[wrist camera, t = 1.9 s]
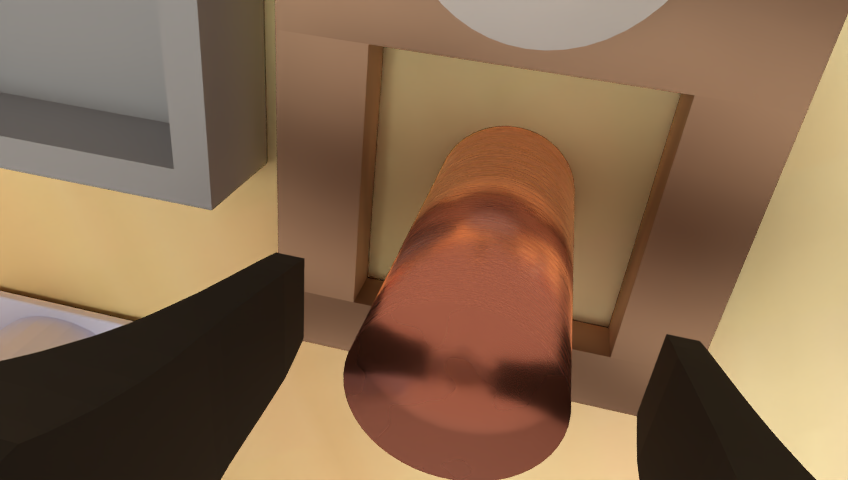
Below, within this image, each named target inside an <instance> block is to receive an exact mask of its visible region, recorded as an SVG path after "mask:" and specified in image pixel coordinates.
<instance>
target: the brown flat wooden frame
mask: <svg viewBox="0 0 848 480" xmlns="http://www.w3.org/2000/svg"><path fill="white" fill-rule="evenodd" d="M847 14H848V0H275V35H276V112H277V189H278V253H281V254H286V255H291V256H295V257H300V258H305V268H304V338H303V341H306V342H310V343H315V344H319V345H324V346H328V347H333V348H337V349H341V350H346V351H349V350H350V348H351V346H352V344H353V342H354V340H355V338H356V336H357V334H358V332H359V330H360V328H361V326H362V324H363V322H364V320H365V318H366V316H367V314H368V312H369V311H370V309H371V307H372V305H373V303H374V301H375V299H376V297H377V295H378V293H379V291H380V289H381V287H382V285H383V283H384V281H381V280H376V279H372V278H367V274H368V259H369V245H370V231H371V216H372V202H373V188H374V173H375V159H376V145H377V130H378V116H379V102H380V87H381V73H382V59H383V47H389V48H396V49H402V50H409V51H415V52H421V53H428V54H434V55H440V56H447V57H453V58H459V59H466V60H472V61H479V62H485V63H491V64H498V65H504V66H510V67H517V68H523V69H529V70H536V71H542V72H549V73H555V74H561V75H568V76H574V77H580V78H587V79H593V80H599V81H606V82H612V83H619V84H625V85H631V86H638V87H644V88H650V89H657V90H663V91H669V92H676V93H681V96H680V99H679V102H678V106H677V109H676V112H675V115H674V119H673V122H672V125H671V128H670V131H669V135H668V138H667V141H666V144H665V148H664V151H663V154H662V157H661V161H660V164H659V167H658V170H657V173H656V177H655V180H654V183H653V186H652V190H651V193H650V196H649V199H648V202H647V206H646V209H645V212H644V215H643V219H642V222H641V225H640V228H639V231H638V235H637V238H636V241H635V244H634V248H633V251H632V254H631V257H630V260H629V264H628V267H627V270H626V273H625V277H624V280H623V283H622V286H621V290H620V293H619V296H618V299H617V302H616V306H615V309H614V312H613V315H612V319H611V322H610V325H609V328H607V327H602V326H597V325H592V324H588V323H583V322H578V321H573V320H572V370H571V401H572V402H577V403H581V404H585V405H590V406H594V407H599V408H603V409H608V410H612V411H616V412H621V413H625V414H630V415H634V416H637V412H638V410H639V407H640V404H641V401H642V399H643V396H644V393H645V391H646V388H647V385H648V383H649V380H650V377H651V374H652V372H653V369H654V366H655V364H656V361H657V358H658V355H659V353H660V350H661V347H662V345H663V342H664V339H665V337H666V334H669V335H674V336H679V337H683V338H688V339H693V340H698V341H700V342H701V343H702V344H703V345H704V346H705V348H706V349H707V350H708V348H709V346H710V343H711V341H712V339H713V336H714V334H715V331H716V329H717V327H718V324H719V322H720V319H721V317H722V315H723V312H724V310H725V307H726V305H727V303H728V300H729V298H730V295H731V293H732V291H733V288H734V286H735V283H736V281H737V279H738V276H739V274H740V271H741V269H742V267H743V264H744V262H745V259H746V257H747V255H748V252H749V250H750V247H751V245H752V243H753V240H754V238H755V235H756V233H757V231H758V228H759V226H760V223H761V221H762V219H763V216H764V214H765V211H766V209H767V207H768V204H769V202H770V199H771V197H772V195H773V192H774V190H775V187H776V185H777V183H778V180H779V178H780V175H781V173H782V171H783V168H784V166H785V163H786V161H787V158H788V156H789V154H790V151H791V149H792V146H793V144H794V142H795V139H796V137H797V134H798V132H799V130H800V127H801V125H802V122H803V120H804V118H805V115H806V113H807V110H808V108H809V106H810V103H811V101H812V98H813V96H814V94H815V91H816V89H817V86H818V84H819V82H820V79H821V77H822V74H823V72H824V70H825V67H826V65H827V62H828V60H829V58H830V55H831V53H832V50H833V48H834V46H835V43H836V41H837V38H838V36H839V34H840V31H841V29H842V26H843V24H844V22H845V19H846V17H847Z"/></svg>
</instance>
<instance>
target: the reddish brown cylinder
mask: <svg viewBox="0 0 848 480" xmlns="http://www.w3.org/2000/svg"><path fill="white" fill-rule="evenodd" d="M574 192H575V187H574V179H573V175H572V172H571V169H570V167H569V165H568V163H567V161H566V159H565V158H564V156H563V155H562V153H561V152H560V151H559V150H558V149H557V148H556V147H555V146H554V145H553V144H552V143H551V142H550V141H548V140H547V139H545V138H544V137H542V136H540V135H538V134H537V133H534V132H532V131H529V130H526V129H522V128H518V127H510V126H498V127H491V128H487V129H483V130H480V131H478V132H475V133H473V134H471V135H469V136H468V137H466V138H464V139H463V140H462V141H461V142H459V143H458V144H457V145H456V146H455V147H454V148H453V149H452V151H451V152H450V153H449V155H448V156H447V158H446V160H445V162H444V164H443V166H442V168H441V170H440V172H439V174H438V176H437V178H436V180H435V182H434V184H433V186H432V188H431V190H430V192H429V194H428V196H427V198H426V199H425V201H424V203H423V205H422V207H421V209H420V211H419V213H418V215H417V217H416V219H415V221H414V223H413V225H412V227H411V229H410V231H409V233H408V235H407V237H406V239H405V241H404V243H403V245H402V247H401V249H400V251H399V253H398V255H397V257H396V259H395V261H394V263H393V265H392V267H391V269H390V271H389V273H388V275H387V277H386V279H385V281H384V283H383V285H382V287H381V289H380V291H379V293H378V295H377V297H376V299H375V301H374V303H373V305H372V307H371V309H370V311H369V312H368V314H367V316H366V318H365V320H364V322H363V324H362V326H361V328H360V330H359V332H358V334H357V336H356V338H355V340H354V342H353V344H352V346H351V348H350V350H349V352H348V355H347V358H346V361H345V367H344V389H345V394H346V398H347V401H348V404H349V407H350V409H351V411H352V413H353V415H354V417H355V419H356V420H357V422H358V423H359V425H360V426H361V427H362V429H363V430H364V431H365V432H366V433H367V435H368V436H369V437H370V438H371V439H372V440H373V441H374V442H375V443H376V444H377V445H378V446H379V447H381V448H382V449H383V450H385V451H386V452H387V453H388V454H390V455H391V456H393V457H394V458H396V459H398V460H399V461H401V462H403V463H405V464H407V465H409V466H411V467H413V468H415V469H417V470H420V471H422V472H425V473H428V474H431V475H434V476H438V477H442V478H447V479H452V480H499V479H504V478H509V477H512V476H515V475H518V474H521V473H523V472H525V471H528V470H530V469H532V468H533V467H535V466H537V465H538V464H540V463H541V462H543V461H544V460H545V459H546V458H547V457H549V456H550V455H551V454H552V453H553V451H554V450H555V449H556V448H557V447H558V446H559V444H560V442H561V441H562V439H563V438H564V436H565V433H566V431H567V428H568V425H569V420H570V415H571V370H572V311H573V251H574Z"/></svg>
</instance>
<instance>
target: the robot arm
mask: <svg viewBox="0 0 848 480" xmlns="http://www.w3.org/2000/svg"><path fill="white" fill-rule="evenodd" d="M304 268H305V258H300V257H295V256H291V255H286V254H281V253H275V254H272V255H270V256H268V257H266V258H264V259H262V260H260V261H258V262H256V263H254V264H252V265H250V266H249V267H247V268H245V269H243V270H241V271H239V272H237V273H235V274H233V275H232V276H230V277H228V278H226V279H224V280H222V281H220V282H218V283H216V284H214V285H212V286H210V287H208V288H206V289H204V290H203V291H201V292H199V293H197V294H194V295H192V296H190V297H188V298H186V299H184V300H181V301H179V302H177V303H175V304H173V305H171V306H168V307H166V308H164V309H162V310H160V311H158V312H155V313H153V314H151V315H148V316H146V317H143V318H141V319H138V320H136V321H130V320H126V319H121V318H117V317H113V316H108V315H104V314H100V313H95V312H91V311H86V310H82V309H78V308H73V307H69V306H65V305H60V304H56V303H52V302H47V301H43V300H39V299H34V298H30V297H26V296H21V295H17V294H12V293H8V292H4V291H0V480H221V478H222V476H223V474H224V473H225V471H226V469H227V468H228V466H229V464H230V463H231V461H232V460H233V458H234V457H235V455H236V453H237V452H238V450H239V449H240V447H241V446H242V444H243V443H244V441H245V440H246V438H247V437H248V435H249V434H250V432H251V430H252V429H253V427H254V426H255V424H256V423H257V421H258V420H259V418H260V417H261V415H262V414H263V412H264V410H265V409H266V407H267V406H268V404H269V403H270V401H271V400H272V398H273V396H274V395H275V393H276V392H277V390H278V389H279V387H280V385H281V384H282V382H283V381H284V379H285V377H286V375H287V373H288V371H289V369H290V367H291V365H292V363H293V361H294V358H295V356H296V354H297V352H298V350H299V347H300V345H301V343H302V341H303V338H304ZM637 464H638V472H639V480H816V479H815V478H814V477H813V476H812V475H811V474H810V473H809V472H808V471H807V470H806V469H805V468H804V467H803V465H802V464H801V463H800V462H799V461H798V460H797V459H796V458H795V457H794V456H793V454H792V453H791V452H790V451H789V450H788V449H787V448H786V447H785V446H784V445H783V444H782V442H781V441H780V440H779V439H778V438H777V437H776V436H775V434H774V433H773V432H772V431H771V430H770V429H769V427H768V426H767V425H766V424H765V423H764V421H763V420H762V419H761V418H760V417H759V415H758V414H757V413H756V412H755V411H754V409H753V408H752V407H751V406H750V404H749V403H748V402H747V401H746V399H745V398H744V397H743V396H742V394H741V393H740V392H739V390H738V389H737V388H736V387H735V385H734V384H733V383H732V381H731V380H730V379H729V378H728V376H727V375H726V374H725V372H724V371H723V370H722V368H721V367H720V366H719V364H718V363H717V362H716V361H715V359H714V358H713V357H712V355H711V354H710V353H709V351H708V350H707V349H706V348H705V346H704V345H703V344H702V343H701V342H700V341H698V340H693V339H688V338H683V337H679V336H674V335H669V334H666V337H665V339H664V342H663V345H662V347H661V350H660V353H659V355H658V358H657V361H656V364H655V366H654V369H653V372H652V374H651V377H650V380H649V383H648V385H647V388H646V391H645V393H644V396H643V399H642V401H641V404H640V407H639V410H638V412H637Z"/></svg>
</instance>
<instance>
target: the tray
mask: <svg viewBox="0 0 848 480" xmlns="http://www.w3.org/2000/svg"><path fill="white" fill-rule="evenodd" d="M266 163H267V137H266V90H265V44H264V0H0V168H4V169H9V170H14V171H19V172H24V173H28V174H33V175H38V176H43V177H48V178H53V179H58V180H63V181H68V182H73V183H78V184H83V185H88V186H93V187H98V188H103V189H108V190H113V191H118V192H123V193H128V194H133V195H138V196H143V197H148V198H153V199H158V200H163V201H168V202H173V203H178V204H183V205H188V206H193V207H198V208H203V209H208V210H213V209H214V208H215V207H216V206H217V205H219V204H220V203H221V202H222V201H223V200H224V199H225V198H227V197H228V196H229V195H230V194H231V193H232V192H234V191H235V190H236V189H237V188H238V187H239V186H241V185H242V184H243V183H244V182H245V181H246V180H248V179H249V178H250V177H251V176H252V175H253V174H255V173H256V172H257V171H258V170H259V169H260V168H262V167H263V166H264V165H265V164H266Z"/></svg>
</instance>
